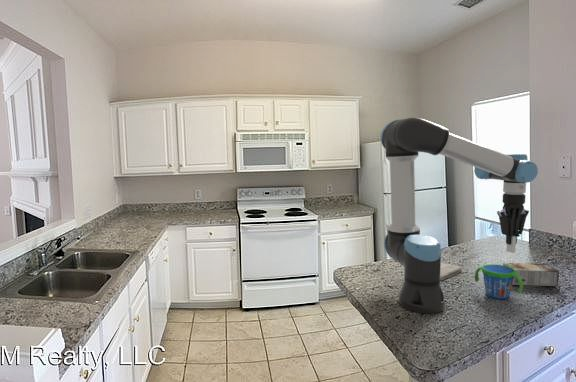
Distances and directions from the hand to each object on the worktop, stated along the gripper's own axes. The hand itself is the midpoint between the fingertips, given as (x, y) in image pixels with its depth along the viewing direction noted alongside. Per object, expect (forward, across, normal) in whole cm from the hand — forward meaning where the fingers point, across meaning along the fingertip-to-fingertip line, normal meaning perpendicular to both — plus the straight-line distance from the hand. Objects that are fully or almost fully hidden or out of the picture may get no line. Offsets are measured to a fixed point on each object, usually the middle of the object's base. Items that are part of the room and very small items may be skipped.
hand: (510, 251), depth 142 cm
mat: (+12, +6, 0) cm, 13 cm away
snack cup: (+12, -16, -11) cm, 23 cm away
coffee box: (+8, -2, -1) cm, 9 cm away
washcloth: (+13, -20, +16) cm, 29 cm away
